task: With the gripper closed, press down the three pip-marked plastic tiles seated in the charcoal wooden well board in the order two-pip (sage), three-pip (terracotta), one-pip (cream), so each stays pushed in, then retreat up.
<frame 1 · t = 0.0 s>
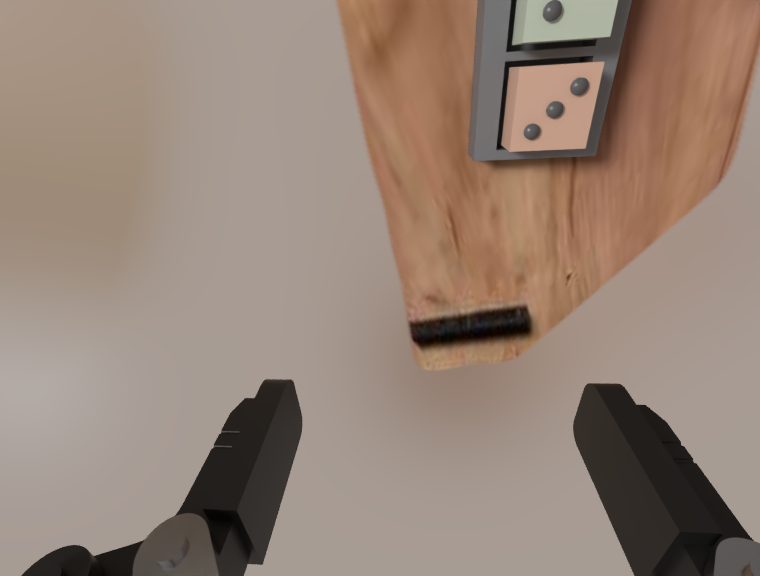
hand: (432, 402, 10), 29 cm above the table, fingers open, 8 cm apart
well board: (543, 2, 28), on the table
tile three: (548, 107, 28), point 5 cm above the table, slide at 0.0 cm
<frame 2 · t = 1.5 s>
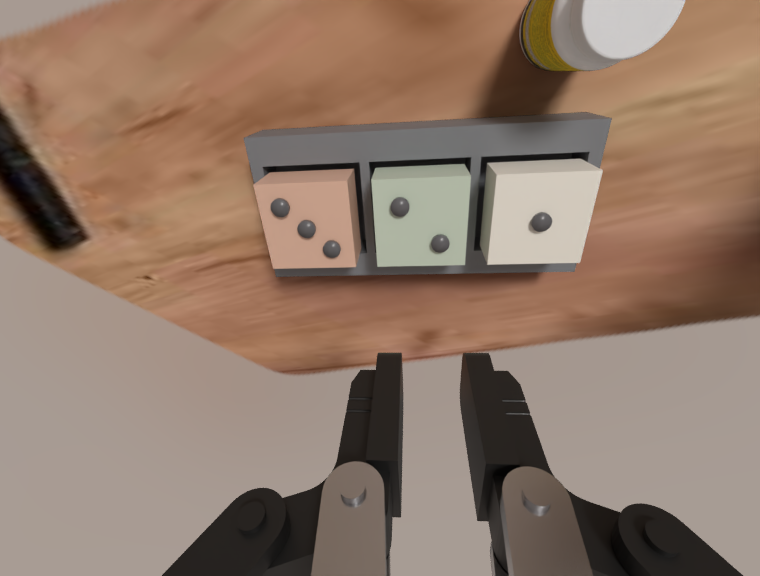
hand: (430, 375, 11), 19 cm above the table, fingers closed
tile one: (533, 213, 23), point 5 cm above the table, slide at 0.0 cm
well board: (418, 193, 27), on the table
tile three: (312, 220, 24), point 5 cm above the table, slide at 0.0 cm
supplement bottle: (558, 24, 22), on the table
tile two: (420, 216, 23), point 5 cm above the table, slide at 0.0 cm
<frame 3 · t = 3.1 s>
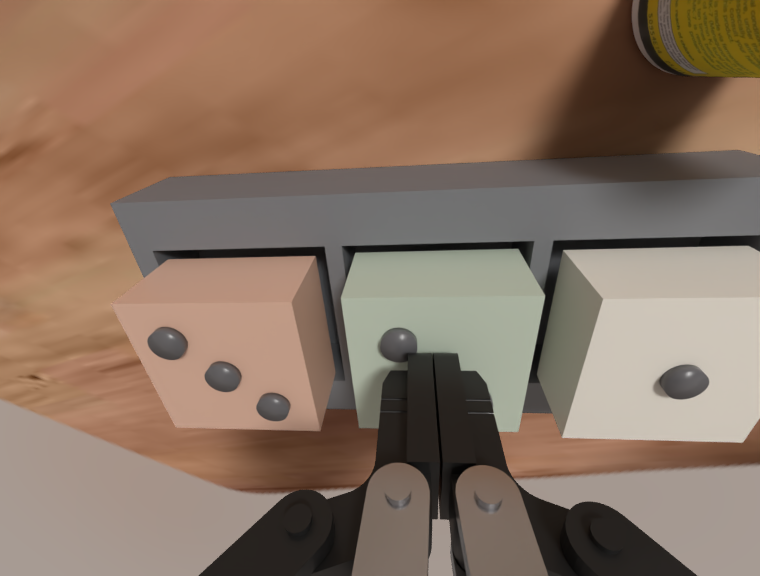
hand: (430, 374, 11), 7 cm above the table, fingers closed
tile one: (654, 348, 12), point 5 cm above the table, slide at 0.0 cm
well board: (430, 276, 17), on the table
tile three: (241, 347, 13), point 5 cm above the table, slide at 0.0 cm
tile two: (436, 344, 13), point 5 cm above the table, slide at -0.2 cm, touching gripper
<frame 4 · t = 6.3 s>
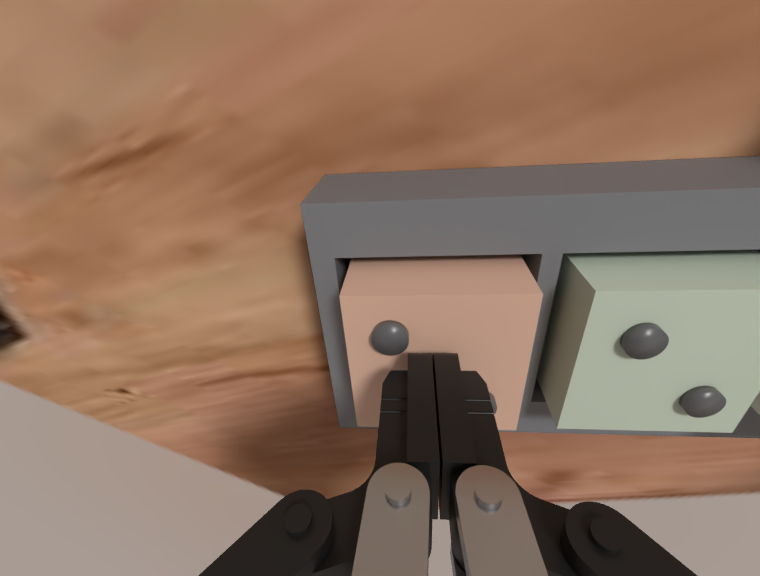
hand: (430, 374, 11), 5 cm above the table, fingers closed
well board: (598, 284, 15), on the table
tile three: (434, 342, 13), point 4 cm above the table, slide at -1.3 cm, touching gripper
tile two: (646, 340, 12), point 4 cm above the table, slide at -1.4 cm
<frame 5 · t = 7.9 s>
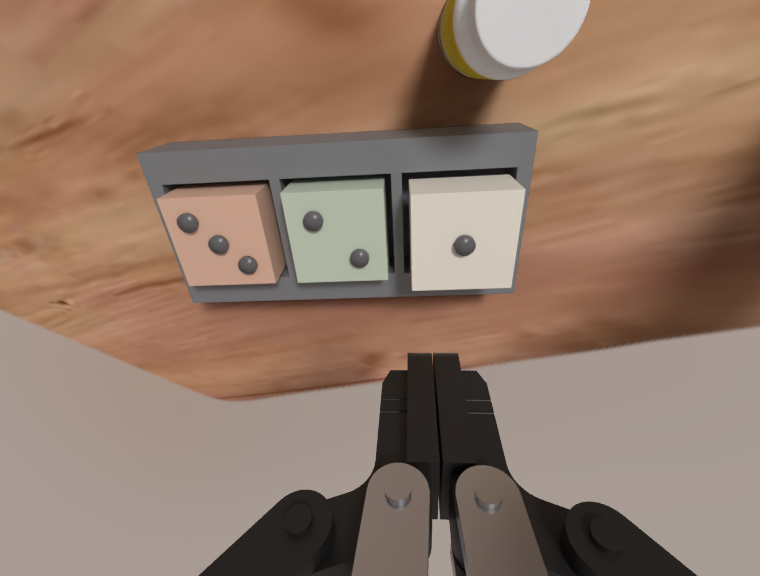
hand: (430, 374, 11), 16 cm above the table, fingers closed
tile one: (460, 234, 21), point 5 cm above the table, slide at 0.0 cm
well board: (347, 210, 25), on the table
tile three: (228, 234, 23), point 4 cm above the table, slide at -1.4 cm
supplement bottle: (481, 28, 20), on the table
tile two: (340, 230, 22), point 4 cm above the table, slide at -1.4 cm
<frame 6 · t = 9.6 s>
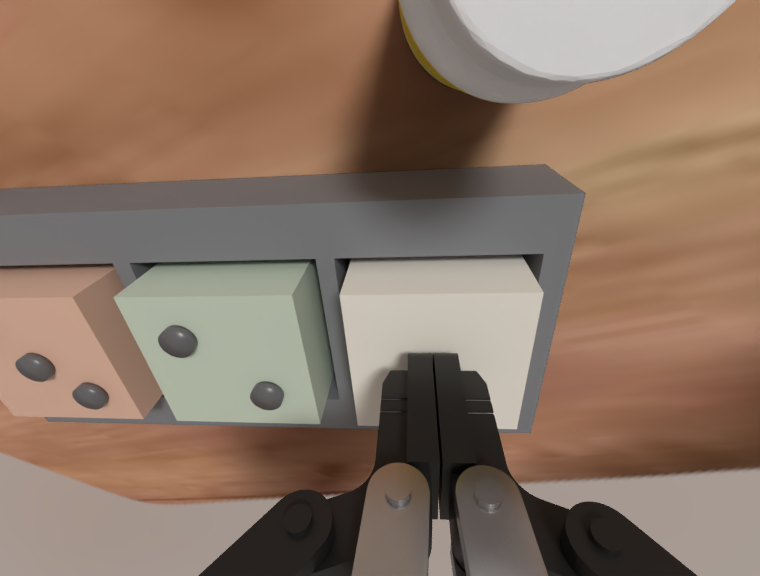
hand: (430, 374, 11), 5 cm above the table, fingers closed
tile one: (434, 341, 13), point 4 cm above the table, slide at -1.3 cm, touching gripper
well board: (274, 289, 17), on the table
tile three: (70, 340, 14), point 4 cm above the table, slide at -1.4 cm
tile two: (242, 341, 13), point 4 cm above the table, slide at -1.4 cm
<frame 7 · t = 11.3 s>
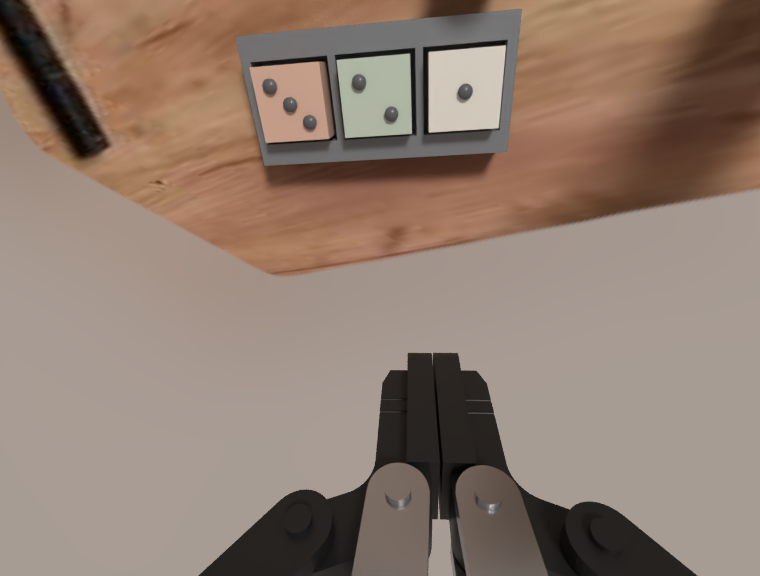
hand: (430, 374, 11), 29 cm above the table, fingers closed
tile one: (463, 90, 29), point 4 cm above the table, slide at -1.4 cm
well board: (380, 94, 33), on the table
tile three: (295, 103, 31), point 4 cm above the table, slide at -1.4 cm
tile two: (377, 97, 30), point 4 cm above the table, slide at -1.4 cm
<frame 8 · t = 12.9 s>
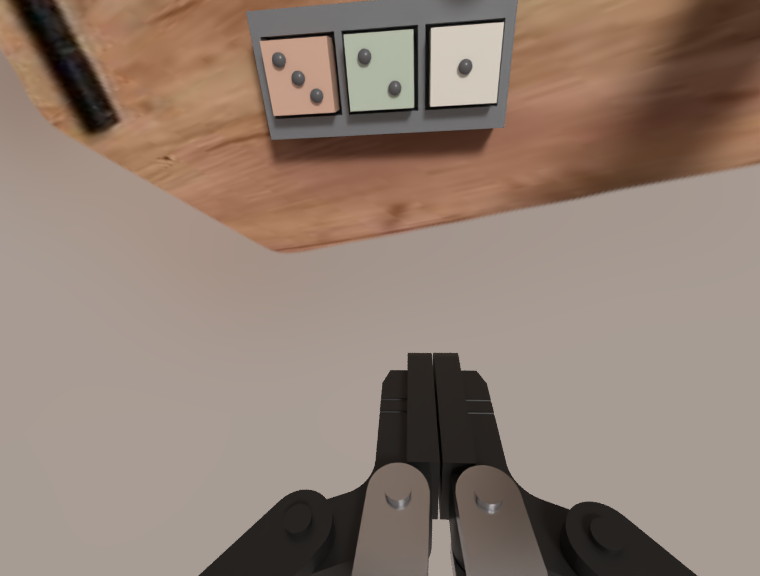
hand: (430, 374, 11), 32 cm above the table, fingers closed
tile one: (463, 66, 31), point 4 cm above the table, slide at -1.4 cm
well board: (383, 72, 35), on the table
tile three: (302, 77, 32), point 4 cm above the table, slide at -1.4 cm
tile two: (381, 72, 32), point 4 cm above the table, slide at -1.4 cm
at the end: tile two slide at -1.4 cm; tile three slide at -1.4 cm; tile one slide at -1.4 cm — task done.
